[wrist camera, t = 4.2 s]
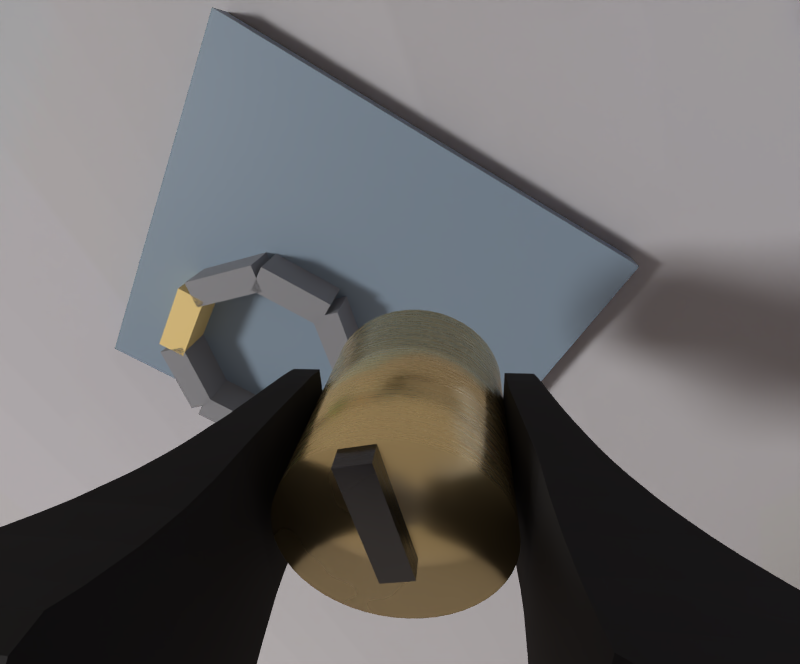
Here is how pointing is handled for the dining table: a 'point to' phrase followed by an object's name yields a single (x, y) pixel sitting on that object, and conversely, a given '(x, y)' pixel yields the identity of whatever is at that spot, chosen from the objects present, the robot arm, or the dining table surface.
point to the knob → (404, 474)
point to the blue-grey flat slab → (336, 234)
